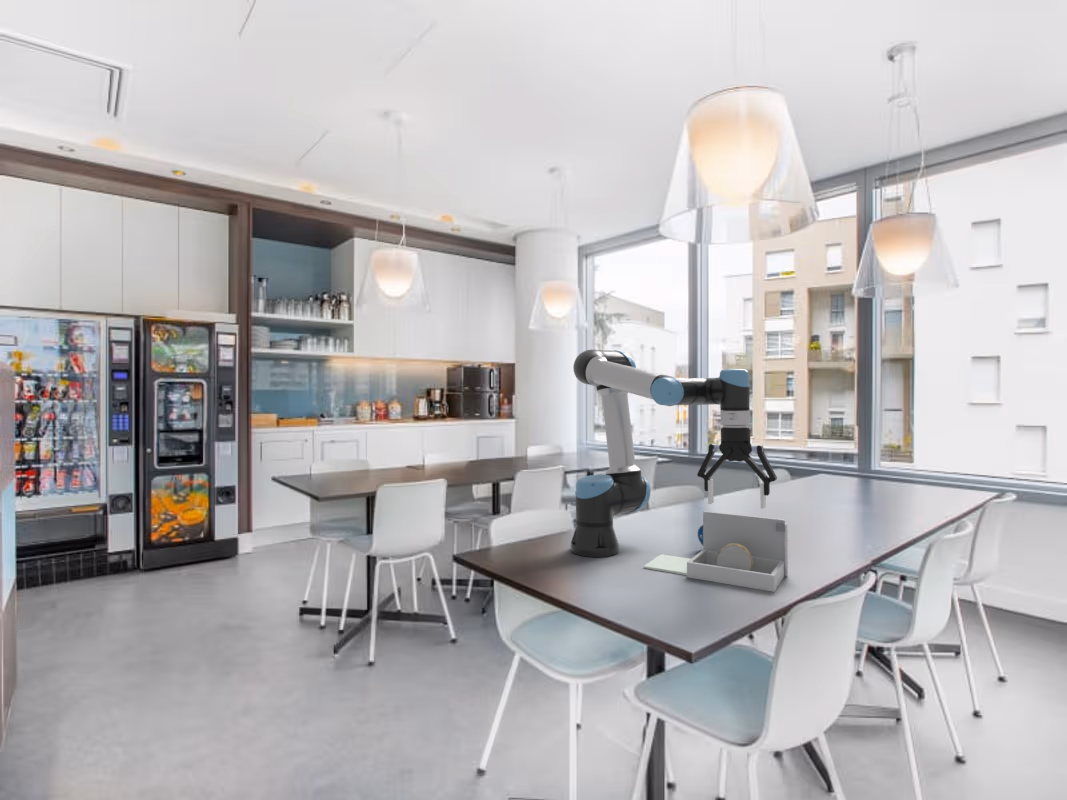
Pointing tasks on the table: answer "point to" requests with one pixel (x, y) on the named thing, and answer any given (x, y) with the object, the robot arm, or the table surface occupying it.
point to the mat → (669, 564)
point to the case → (757, 536)
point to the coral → (735, 557)
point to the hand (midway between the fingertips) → (736, 505)
